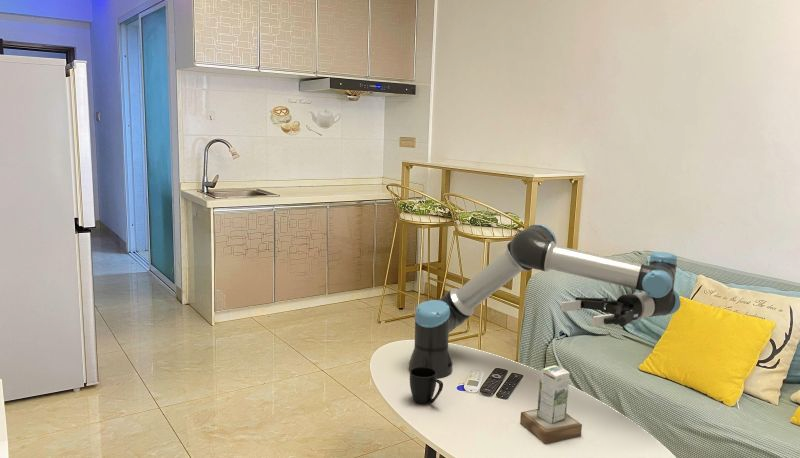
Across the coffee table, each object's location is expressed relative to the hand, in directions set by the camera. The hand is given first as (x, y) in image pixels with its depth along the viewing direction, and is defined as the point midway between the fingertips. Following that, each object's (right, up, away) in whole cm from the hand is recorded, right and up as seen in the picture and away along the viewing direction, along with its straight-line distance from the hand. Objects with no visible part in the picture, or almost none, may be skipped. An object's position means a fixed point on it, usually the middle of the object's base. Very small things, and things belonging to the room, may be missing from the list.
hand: (577, 313), depth 173 cm
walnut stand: (-8, -33, -1) cm, 34 cm away
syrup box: (-8, -29, -2) cm, 30 cm away
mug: (-43, -29, +13) cm, 53 cm away
